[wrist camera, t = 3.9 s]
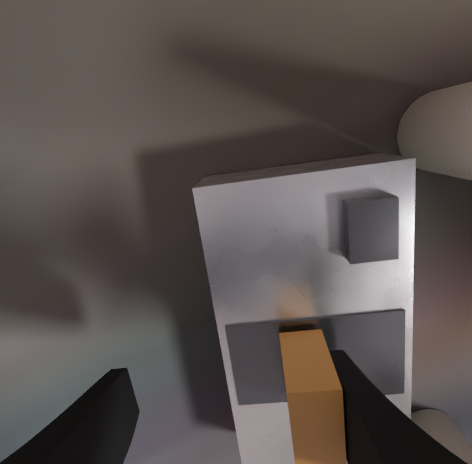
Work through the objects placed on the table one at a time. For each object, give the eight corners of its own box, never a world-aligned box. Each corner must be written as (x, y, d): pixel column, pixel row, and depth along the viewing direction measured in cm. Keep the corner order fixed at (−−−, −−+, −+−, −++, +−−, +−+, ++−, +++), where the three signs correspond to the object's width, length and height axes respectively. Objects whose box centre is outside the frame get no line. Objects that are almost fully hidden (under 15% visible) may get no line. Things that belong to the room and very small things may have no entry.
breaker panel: (378, 152, 13) (426, 160, 9) (382, 427, 17) (416, 504, 13) (205, 176, 13) (188, 191, 10) (248, 435, 17) (247, 511, 14)
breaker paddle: (321, 329, 11) (342, 389, 9) (326, 397, 12) (346, 471, 10) (278, 333, 11) (286, 393, 9) (286, 399, 12) (296, 473, 10)
